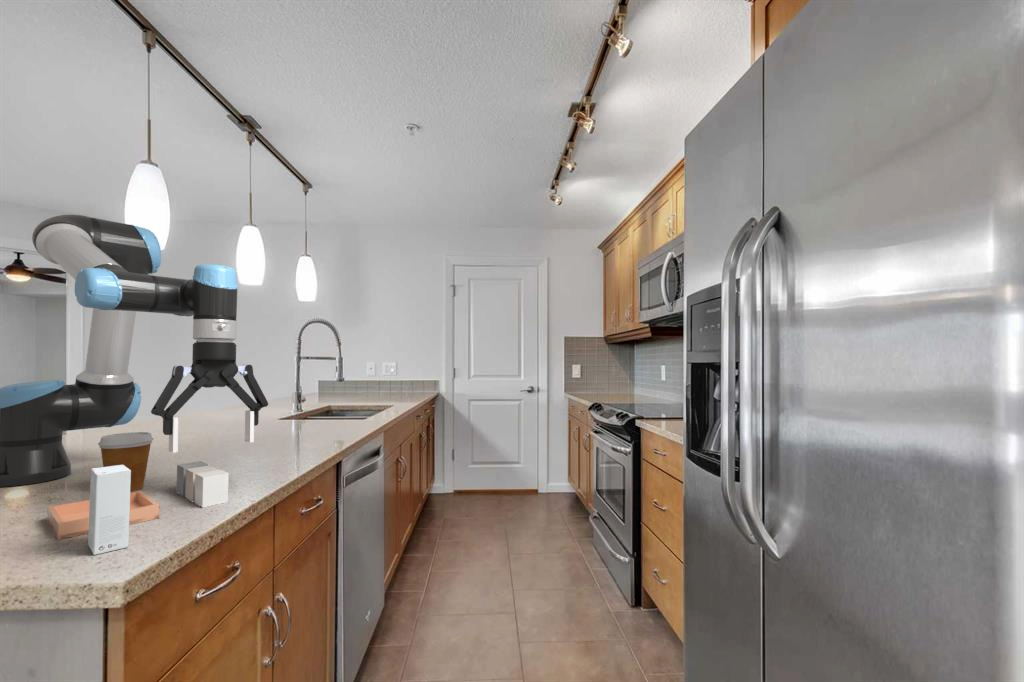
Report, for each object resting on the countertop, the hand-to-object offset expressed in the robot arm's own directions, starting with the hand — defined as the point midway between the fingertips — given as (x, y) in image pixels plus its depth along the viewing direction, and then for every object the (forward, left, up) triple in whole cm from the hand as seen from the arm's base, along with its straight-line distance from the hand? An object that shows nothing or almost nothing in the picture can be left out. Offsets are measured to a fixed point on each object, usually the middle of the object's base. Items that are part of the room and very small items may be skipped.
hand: (213, 446), depth 95 cm
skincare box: (+12, -18, -12) cm, 24 cm away
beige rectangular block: (-6, 0, -11) cm, 13 cm away
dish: (-4, -16, -11) cm, 20 cm away
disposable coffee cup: (-25, -9, -12) cm, 29 cm away
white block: (0, 0, -11) cm, 11 cm away
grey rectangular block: (-12, 0, -11) cm, 17 cm away
